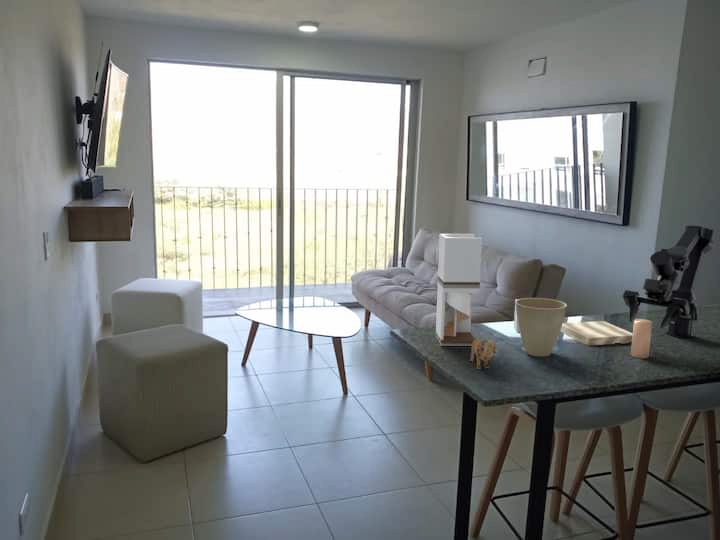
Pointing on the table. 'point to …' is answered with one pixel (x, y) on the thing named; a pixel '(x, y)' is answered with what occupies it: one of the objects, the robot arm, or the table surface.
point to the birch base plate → (596, 333)
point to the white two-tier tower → (457, 287)
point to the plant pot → (539, 324)
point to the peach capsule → (641, 338)
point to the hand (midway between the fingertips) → (645, 324)
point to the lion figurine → (483, 351)
